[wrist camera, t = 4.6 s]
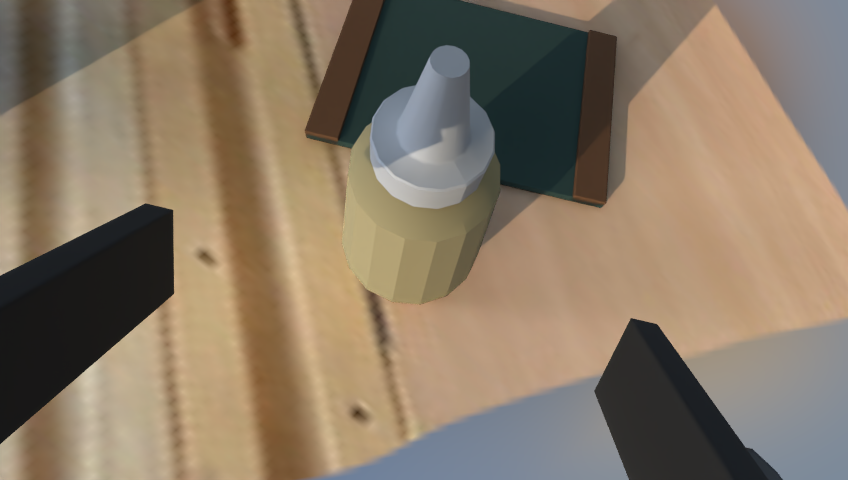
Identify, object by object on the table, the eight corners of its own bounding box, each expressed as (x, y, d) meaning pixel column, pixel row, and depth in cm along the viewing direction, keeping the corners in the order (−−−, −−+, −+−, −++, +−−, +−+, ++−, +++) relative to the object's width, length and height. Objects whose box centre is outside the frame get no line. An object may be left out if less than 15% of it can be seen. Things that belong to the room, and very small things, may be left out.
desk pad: (306, 137, 32) (304, 130, 31) (362, -18, 37) (362, -28, 37) (600, 208, 32) (606, 203, 31) (611, 44, 38) (617, 36, 37)
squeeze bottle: (341, 205, 30) (299, -41, 13) (456, 197, 31) (551, -41, 15) (350, 323, 28) (312, 199, 11) (475, 309, 29) (619, 176, 12)
